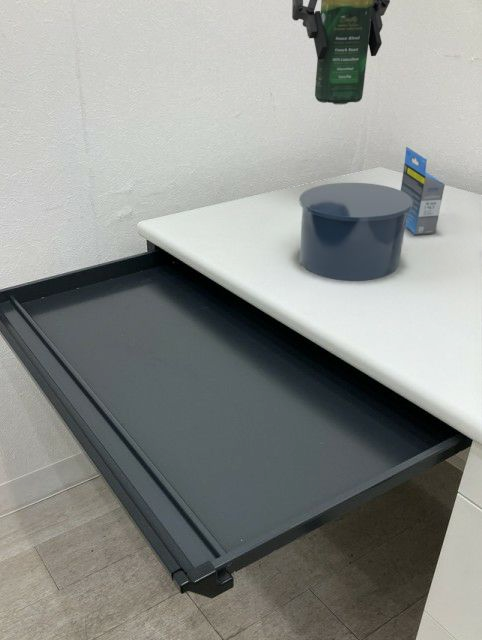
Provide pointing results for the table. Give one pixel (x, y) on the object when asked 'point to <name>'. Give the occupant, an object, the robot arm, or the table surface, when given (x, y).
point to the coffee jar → (343, 50)
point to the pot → (352, 230)
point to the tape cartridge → (421, 195)
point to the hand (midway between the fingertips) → (349, 51)
